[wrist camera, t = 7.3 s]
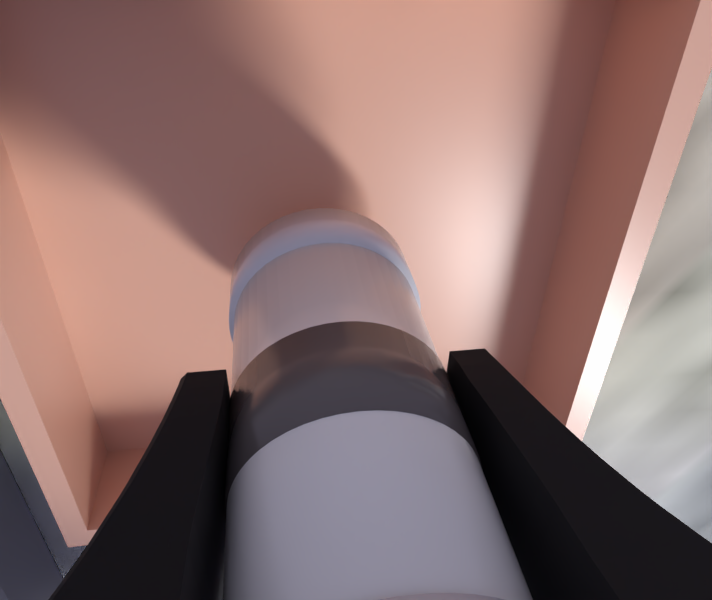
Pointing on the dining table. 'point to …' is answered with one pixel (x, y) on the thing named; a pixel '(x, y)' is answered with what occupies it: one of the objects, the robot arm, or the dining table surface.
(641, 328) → the dining table surface
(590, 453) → the robot arm
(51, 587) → the fuse holder
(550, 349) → the parts tray
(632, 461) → the dining table surface
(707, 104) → the dining table surface
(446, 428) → the cylinder
